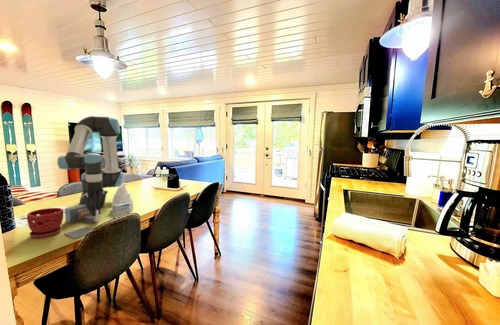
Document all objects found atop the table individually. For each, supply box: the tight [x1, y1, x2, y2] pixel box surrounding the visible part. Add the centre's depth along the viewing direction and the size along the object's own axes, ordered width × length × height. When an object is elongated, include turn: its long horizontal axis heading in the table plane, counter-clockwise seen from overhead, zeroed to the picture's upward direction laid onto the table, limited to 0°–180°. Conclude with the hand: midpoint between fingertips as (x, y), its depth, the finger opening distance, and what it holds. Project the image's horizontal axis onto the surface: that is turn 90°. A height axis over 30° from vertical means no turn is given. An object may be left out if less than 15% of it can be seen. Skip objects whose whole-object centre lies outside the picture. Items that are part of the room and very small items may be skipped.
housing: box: [64, 203, 92, 225], centre depth 127 cm, size 15×5×8 cm, turn 155°
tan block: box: [78, 209, 89, 221], centre depth 127 cm, size 4×4×5 cm
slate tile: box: [63, 226, 94, 240], centre depth 109 cm, size 10×10×1 cm
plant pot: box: [26, 207, 64, 239], centre depth 107 cm, size 13×13×12 cm
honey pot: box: [111, 182, 134, 213], centre depth 144 cm, size 13×13×18 cm
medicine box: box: [112, 203, 131, 218], centre depth 130 cm, size 8×4×9 cm, turn 148°
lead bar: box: [80, 214, 100, 225], centre depth 124 cm, size 4×10×3 cm, turn 65°
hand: (96, 220), depth 122 cm, fingers closed
